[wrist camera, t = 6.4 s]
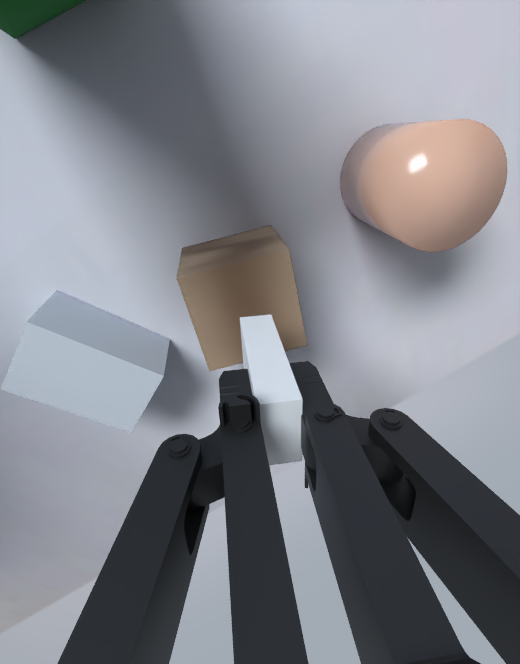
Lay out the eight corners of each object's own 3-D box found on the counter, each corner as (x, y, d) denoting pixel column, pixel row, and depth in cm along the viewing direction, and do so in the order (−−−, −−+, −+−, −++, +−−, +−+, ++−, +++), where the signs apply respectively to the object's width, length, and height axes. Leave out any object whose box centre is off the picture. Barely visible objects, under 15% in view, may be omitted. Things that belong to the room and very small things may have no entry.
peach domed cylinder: (337, 227, 25) (381, 256, 19) (343, 126, 23) (396, 122, 16) (421, 220, 26) (490, 247, 20) (437, 121, 23) (522, 116, 17)
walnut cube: (208, 326, 28) (209, 371, 22) (182, 247, 25) (176, 278, 19) (287, 305, 28) (307, 345, 22) (270, 224, 25) (288, 248, 19)
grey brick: (33, 347, 26) (0, 389, 22) (57, 289, 25) (26, 321, 20) (141, 388, 29) (131, 432, 25) (170, 337, 28) (163, 376, 23)
